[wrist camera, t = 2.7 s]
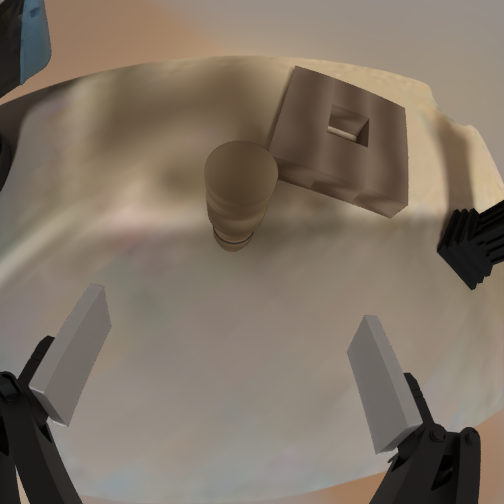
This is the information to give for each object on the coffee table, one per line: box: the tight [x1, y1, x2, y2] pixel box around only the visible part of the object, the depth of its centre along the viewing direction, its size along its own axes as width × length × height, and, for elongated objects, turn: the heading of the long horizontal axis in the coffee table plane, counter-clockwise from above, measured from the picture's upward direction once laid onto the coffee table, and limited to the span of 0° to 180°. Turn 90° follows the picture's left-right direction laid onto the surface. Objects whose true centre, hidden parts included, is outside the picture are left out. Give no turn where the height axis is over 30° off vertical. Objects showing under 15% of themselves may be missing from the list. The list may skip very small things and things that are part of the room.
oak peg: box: [205, 141, 278, 251], centre depth 24 cm, size 4×4×13 cm
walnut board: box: [268, 66, 408, 218], centre depth 33 cm, size 16×16×4 cm
